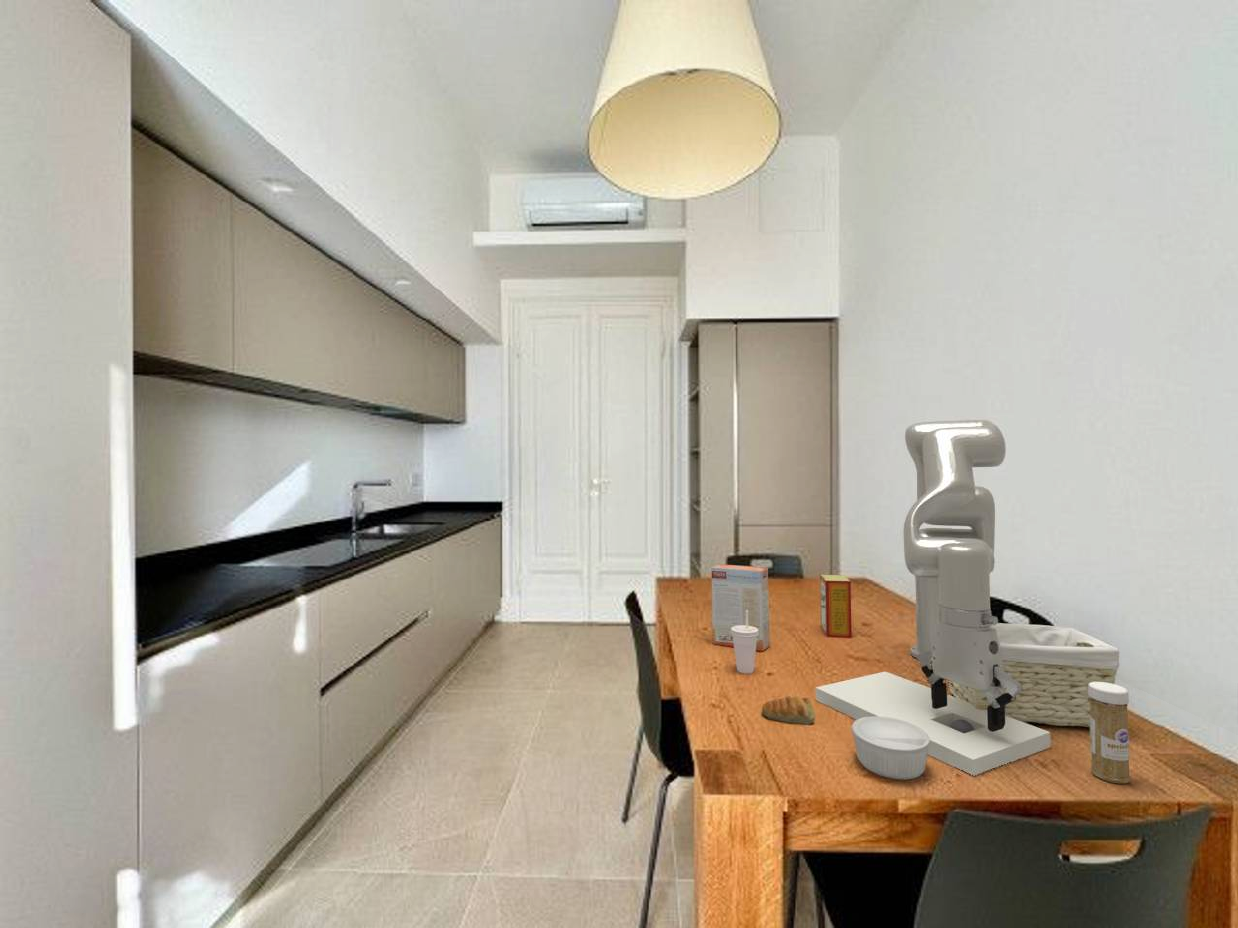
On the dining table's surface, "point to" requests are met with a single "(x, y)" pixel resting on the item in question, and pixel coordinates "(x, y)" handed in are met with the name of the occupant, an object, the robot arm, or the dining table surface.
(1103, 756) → the sprinkles bottle
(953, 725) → the ball
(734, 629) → the smoothie
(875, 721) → the ramekin
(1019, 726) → the board
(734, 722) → the dining table surface
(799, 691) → the dining table surface
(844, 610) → the baking soda box
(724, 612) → the cracker box
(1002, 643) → the storage basket
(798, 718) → the pastry
